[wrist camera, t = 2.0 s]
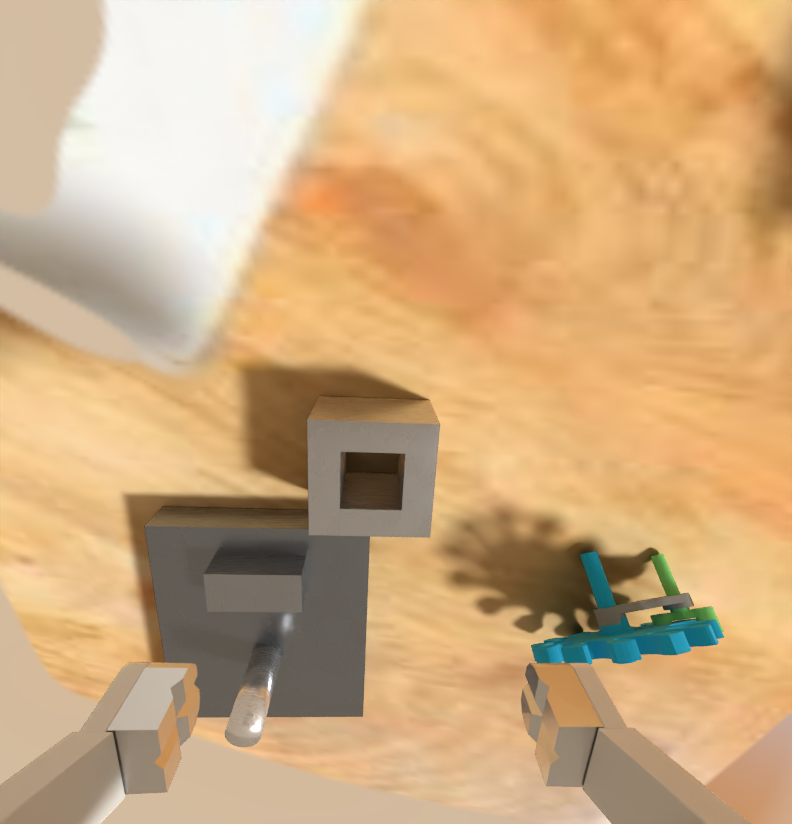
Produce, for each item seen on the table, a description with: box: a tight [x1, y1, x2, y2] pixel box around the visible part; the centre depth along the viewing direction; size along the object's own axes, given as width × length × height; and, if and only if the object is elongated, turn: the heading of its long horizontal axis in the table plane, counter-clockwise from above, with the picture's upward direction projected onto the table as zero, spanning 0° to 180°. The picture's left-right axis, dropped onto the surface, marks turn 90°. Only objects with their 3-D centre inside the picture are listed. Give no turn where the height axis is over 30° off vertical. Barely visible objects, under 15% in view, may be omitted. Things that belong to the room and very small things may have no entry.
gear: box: [531, 551, 724, 664], centre depth 25 cm, size 11×6×10 cm
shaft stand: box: [144, 506, 370, 747], centre depth 23 cm, size 14×12×6 cm
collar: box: [307, 396, 440, 537], centre depth 22 cm, size 6×6×4 cm
